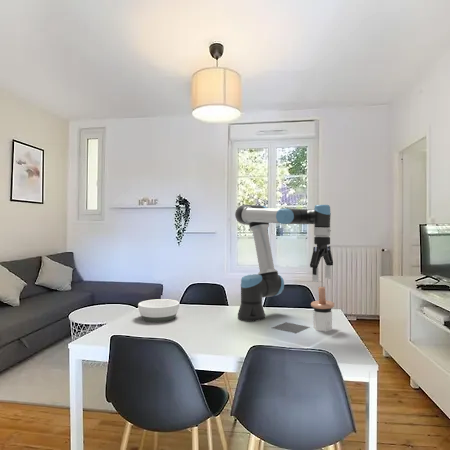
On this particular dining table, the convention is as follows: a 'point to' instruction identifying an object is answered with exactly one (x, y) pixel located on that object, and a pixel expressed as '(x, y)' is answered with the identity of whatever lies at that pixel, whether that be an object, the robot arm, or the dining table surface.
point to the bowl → (158, 310)
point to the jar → (322, 319)
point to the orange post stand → (322, 300)
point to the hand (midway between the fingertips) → (321, 280)
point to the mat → (290, 327)
